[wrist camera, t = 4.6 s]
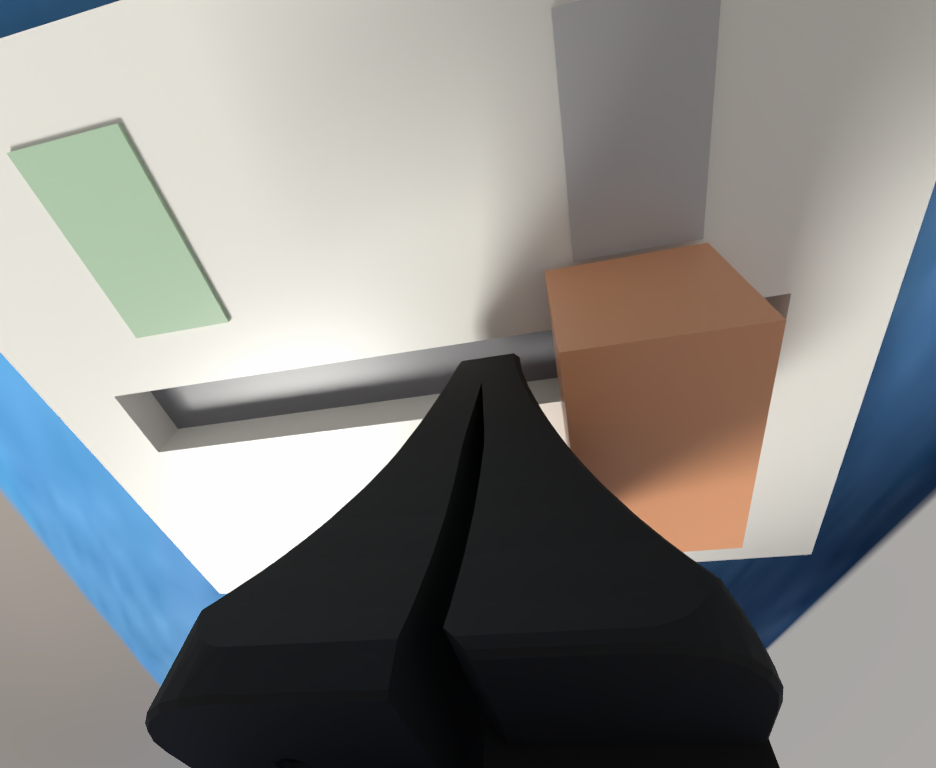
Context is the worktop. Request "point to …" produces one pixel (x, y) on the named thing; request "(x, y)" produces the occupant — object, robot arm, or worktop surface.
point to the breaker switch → (667, 386)
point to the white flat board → (433, 224)
